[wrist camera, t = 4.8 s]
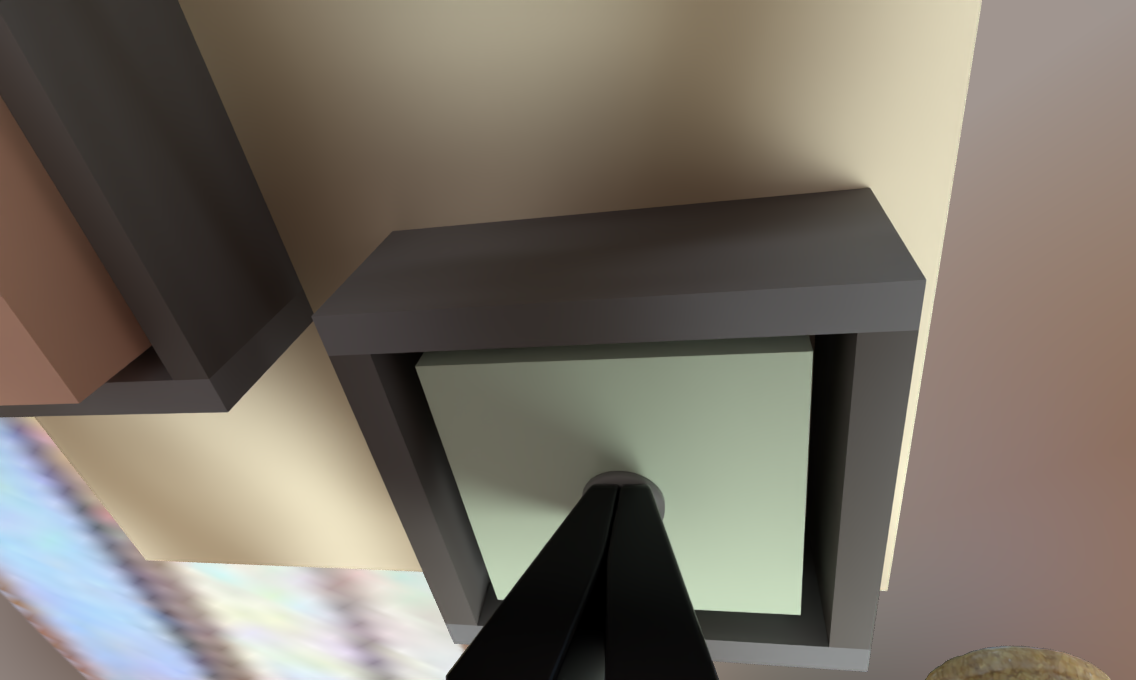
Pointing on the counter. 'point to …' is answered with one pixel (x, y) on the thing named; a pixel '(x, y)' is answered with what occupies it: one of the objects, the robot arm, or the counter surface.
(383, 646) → the counter surface
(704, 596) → the sage tile
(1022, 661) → the sprinkles bottle
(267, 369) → the button board
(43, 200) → the terracotta tile
